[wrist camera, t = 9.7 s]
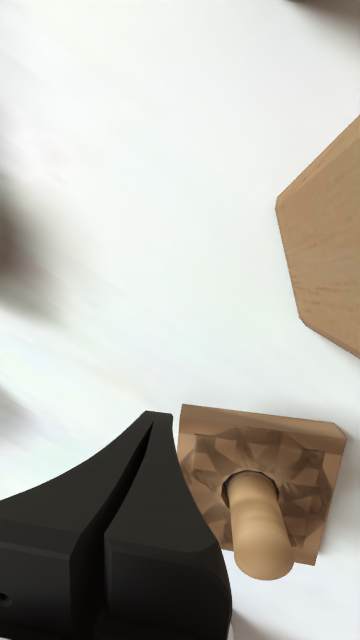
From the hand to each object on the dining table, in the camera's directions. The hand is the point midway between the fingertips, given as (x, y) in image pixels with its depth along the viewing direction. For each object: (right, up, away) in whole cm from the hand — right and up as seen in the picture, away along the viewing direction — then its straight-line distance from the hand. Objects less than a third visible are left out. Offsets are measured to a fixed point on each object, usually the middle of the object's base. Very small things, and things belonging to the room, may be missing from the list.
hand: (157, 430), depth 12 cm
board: (+7, -9, +11) cm, 16 cm away
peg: (+7, -9, +11) cm, 16 cm away
